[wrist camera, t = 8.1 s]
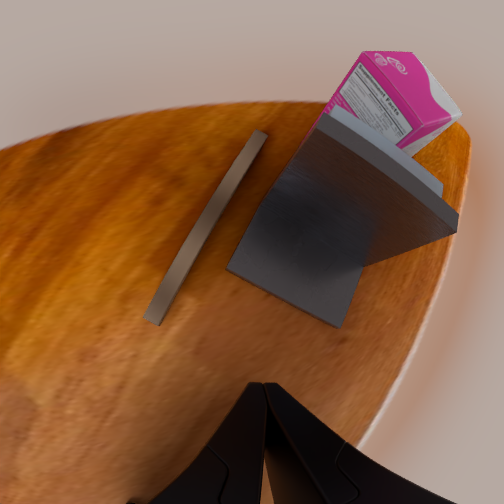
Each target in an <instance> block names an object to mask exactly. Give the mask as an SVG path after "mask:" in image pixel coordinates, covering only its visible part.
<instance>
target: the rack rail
mask: <svg viewBox="0 0 504 504" xmlns="http://www.w3.org/2000/svg"><path fill="white" fill-rule="evenodd" d="M267 137H268V135H266V134H264V133H263V132H261V131H259V130H257V129H256V130H255V131H254V133H253V134H252V136H251V137H250V139H249V140H248V142H247V143H246V145H245V146H244V148H243V149H242V151H241V152H240V154H239V155H238V157H237V158H236V160H235V161H234V163H233V164H232V166H231V168H230V169H229V171H228V172H227V174H226V175H225V177H224V178H223V180H222V182H221V183H220V185H219V186H218V188H217V190H216V191H215V193H214V194H213V196H212V198H211V199H210V201H209V202H208V204H207V206H206V207H205V209H204V211H203V212H202V214H201V215H200V217H199V219H198V220H197V222H196V224H195V225H194V227H193V229H192V230H191V232H190V234H189V235H188V237H187V239H186V241H185V242H184V244H183V246H182V247H181V249H180V251H179V253H178V254H177V256H176V258H175V260H174V261H173V263H172V265H171V267H170V268H169V270H168V272H167V274H166V275H165V277H164V279H163V281H162V283H161V284H160V286H159V288H158V290H157V292H156V293H155V295H154V297H153V299H152V301H151V303H150V304H149V306H148V308H147V310H146V312H145V314H144V316H143V318H145V319H146V320H148V321H150V322H151V323H153V324H155V325H157V326H160V325H161V323H162V321H163V319H164V317H165V315H166V313H167V311H168V309H169V308H170V306H171V304H172V302H173V300H174V298H175V296H176V295H177V293H178V291H179V289H180V287H181V285H182V284H183V282H184V280H185V278H186V276H187V274H188V273H189V271H190V269H191V267H192V265H193V264H194V262H195V260H196V258H197V257H198V255H199V253H200V251H201V249H202V248H203V246H204V244H205V242H206V241H207V239H208V237H209V235H210V234H211V232H212V230H213V228H214V227H215V225H216V223H217V222H218V220H219V218H220V216H221V215H222V213H223V211H224V210H225V208H226V206H227V204H228V203H229V201H230V199H231V198H232V196H233V194H234V193H235V191H236V189H237V188H238V186H239V184H240V183H241V181H242V179H243V178H244V176H245V174H246V173H247V171H248V170H249V168H250V166H251V165H252V163H253V161H254V160H255V158H256V157H257V155H258V153H259V152H260V150H261V148H262V146H263V144H264V142H265V140H266V138H267Z"/></svg>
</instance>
